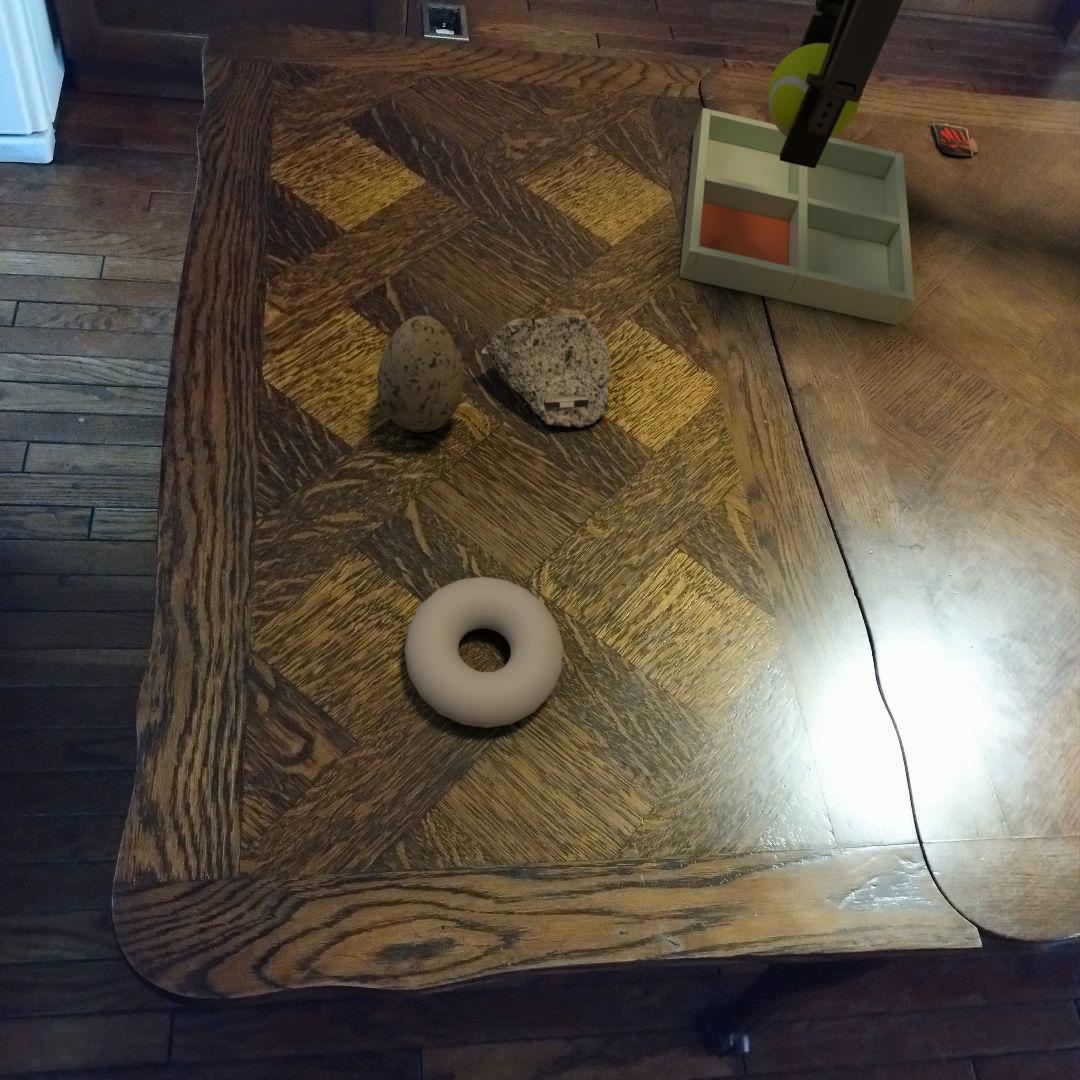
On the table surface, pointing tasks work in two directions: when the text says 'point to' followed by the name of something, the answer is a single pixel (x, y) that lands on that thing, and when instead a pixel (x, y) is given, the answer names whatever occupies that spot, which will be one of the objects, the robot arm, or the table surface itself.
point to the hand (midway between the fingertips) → (797, 129)
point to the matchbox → (955, 140)
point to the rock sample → (555, 367)
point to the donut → (473, 691)
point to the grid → (798, 221)
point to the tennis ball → (799, 87)
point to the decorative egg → (420, 376)
